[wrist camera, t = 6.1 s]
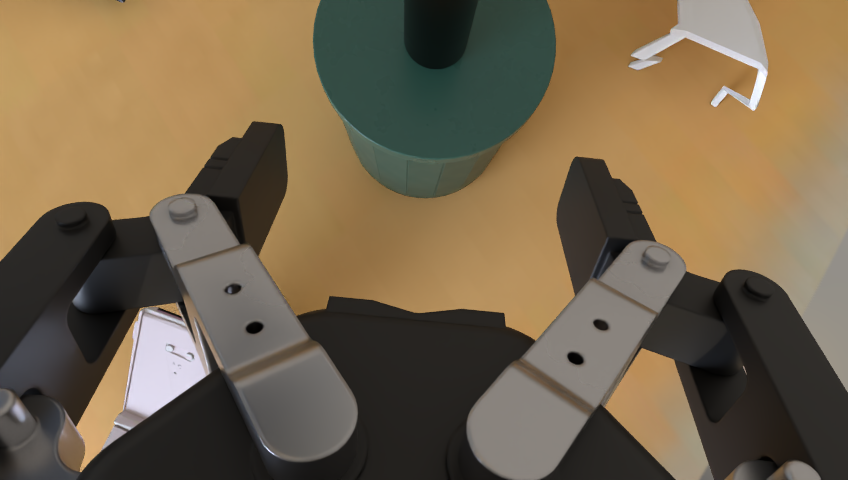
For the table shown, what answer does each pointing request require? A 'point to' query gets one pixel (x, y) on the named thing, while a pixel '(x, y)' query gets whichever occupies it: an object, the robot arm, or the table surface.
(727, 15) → the origami figure
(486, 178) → the table surface
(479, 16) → the green pot lid
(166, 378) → the mobile phone
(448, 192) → the cylindrical cup
